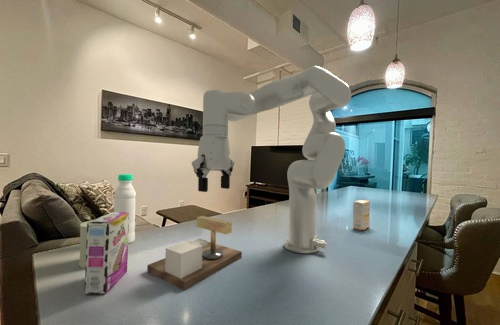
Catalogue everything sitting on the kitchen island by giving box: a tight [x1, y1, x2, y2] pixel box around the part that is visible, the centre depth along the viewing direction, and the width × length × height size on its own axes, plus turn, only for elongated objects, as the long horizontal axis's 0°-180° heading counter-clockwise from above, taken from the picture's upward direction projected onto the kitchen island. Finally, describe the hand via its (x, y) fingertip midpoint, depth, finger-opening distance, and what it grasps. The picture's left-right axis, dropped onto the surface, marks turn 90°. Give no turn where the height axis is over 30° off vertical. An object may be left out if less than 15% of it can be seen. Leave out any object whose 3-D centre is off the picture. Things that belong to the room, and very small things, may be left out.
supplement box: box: [352, 199, 371, 231], centre depth 110 cm, size 8×5×13 cm, turn 133°
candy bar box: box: [84, 211, 129, 295], centre depth 57 cm, size 11×5×16 cm, turn 5°
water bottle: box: [113, 173, 137, 245], centre depth 85 cm, size 7×7×25 cm
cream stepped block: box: [165, 238, 208, 279], centre depth 62 cm, size 6×10×6 cm, turn 146°
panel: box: [146, 241, 243, 291], centre depth 68 cm, size 15×23×2 cm, turn 146°
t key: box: [196, 215, 233, 260], centre depth 70 cm, size 12×6×11 cm, turn 56°
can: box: [78, 219, 93, 269], centre depth 69 cm, size 9×9×12 cm
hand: (214, 189), depth 70 cm, fingers open, 9 cm apart
